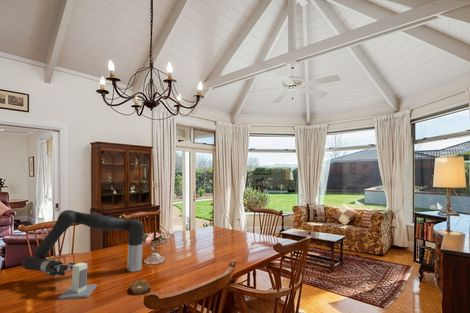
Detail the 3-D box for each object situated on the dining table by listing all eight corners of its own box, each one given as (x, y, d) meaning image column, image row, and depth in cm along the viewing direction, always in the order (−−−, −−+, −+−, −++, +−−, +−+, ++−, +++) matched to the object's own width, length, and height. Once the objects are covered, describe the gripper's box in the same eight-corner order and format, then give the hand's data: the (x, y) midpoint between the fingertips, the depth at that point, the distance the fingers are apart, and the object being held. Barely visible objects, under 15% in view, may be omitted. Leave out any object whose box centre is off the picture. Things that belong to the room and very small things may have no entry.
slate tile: (70, 287, 152) (70, 285, 152) (96, 286, 155) (96, 284, 155) (58, 299, 138) (58, 296, 139) (87, 297, 141) (87, 295, 141)
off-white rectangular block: (79, 287, 150) (80, 262, 151) (86, 289, 148) (87, 263, 149) (71, 291, 145) (72, 265, 146) (78, 293, 143) (79, 266, 144)
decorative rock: (126, 287, 155) (133, 299, 142) (126, 280, 155) (133, 291, 142) (146, 282, 161) (154, 292, 149) (146, 275, 161) (154, 285, 149)
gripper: (39, 264, 148) (59, 268, 143) (63, 256, 162) (83, 260, 156) (38, 277, 148) (58, 282, 142) (62, 269, 161) (82, 273, 156)
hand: (71, 270), depth 149 cm, fingers open, 8 cm apart
